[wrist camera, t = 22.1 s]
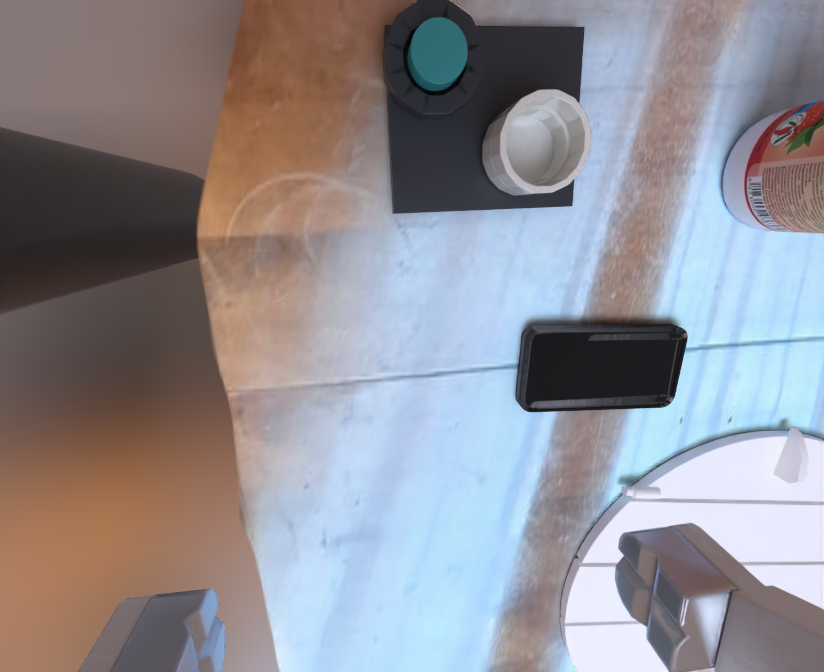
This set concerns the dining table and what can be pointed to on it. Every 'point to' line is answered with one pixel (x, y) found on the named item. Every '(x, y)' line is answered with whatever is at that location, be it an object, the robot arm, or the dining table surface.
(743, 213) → the fruit juice
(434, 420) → the dining table surface
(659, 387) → the phone
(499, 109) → the scale
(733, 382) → the dining table surface
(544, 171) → the white plastic cup
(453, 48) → the button
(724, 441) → the lazy susan
